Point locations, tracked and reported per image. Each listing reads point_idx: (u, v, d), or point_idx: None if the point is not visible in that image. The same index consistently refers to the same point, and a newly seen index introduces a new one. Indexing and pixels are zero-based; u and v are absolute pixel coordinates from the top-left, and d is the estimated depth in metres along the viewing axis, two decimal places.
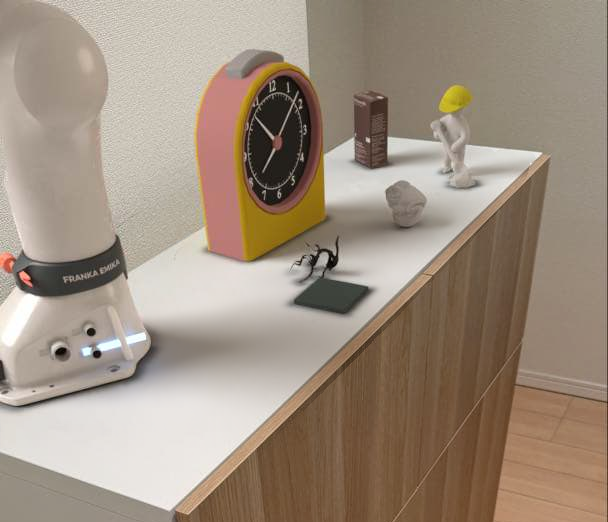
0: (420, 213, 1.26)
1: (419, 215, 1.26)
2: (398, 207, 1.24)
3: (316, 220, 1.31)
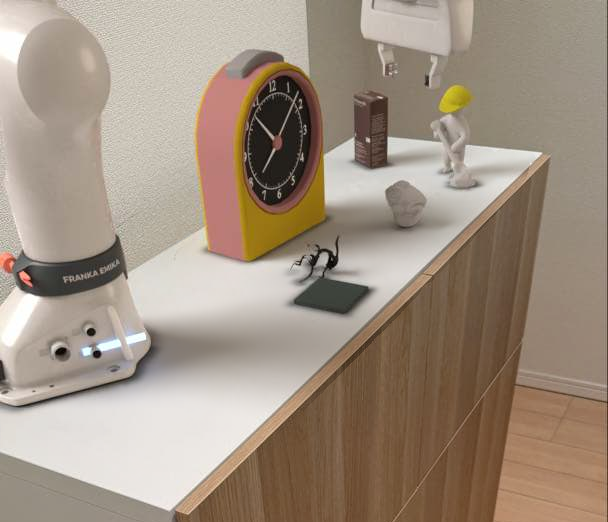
0: (420, 213, 1.26)
1: (419, 215, 1.26)
2: (398, 207, 1.24)
3: (316, 220, 1.31)
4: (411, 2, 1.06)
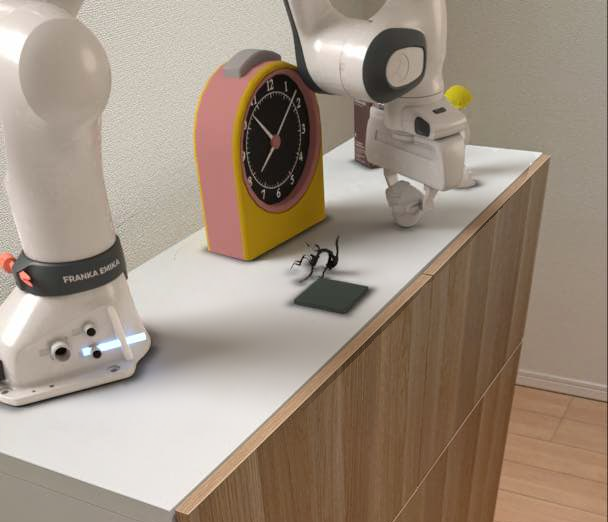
0: (420, 213, 1.26)
1: (419, 215, 1.26)
2: (398, 207, 1.24)
3: (316, 219, 1.31)
4: (409, 141, 1.18)
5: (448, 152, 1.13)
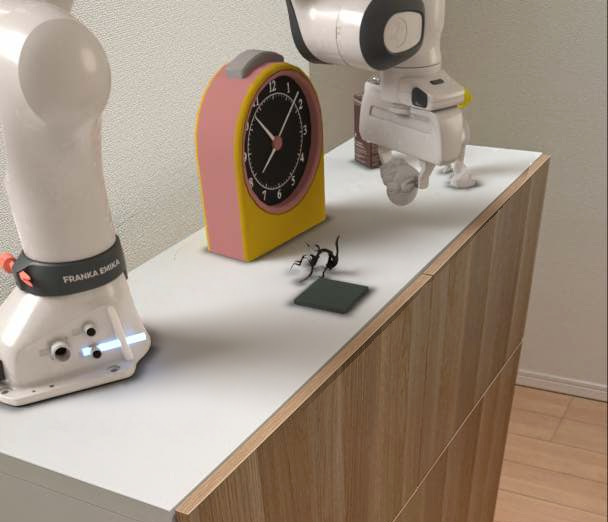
0: (415, 191, 1.23)
1: (414, 193, 1.23)
2: (393, 184, 1.21)
3: (316, 220, 1.31)
4: (405, 115, 1.15)
5: (446, 124, 1.10)
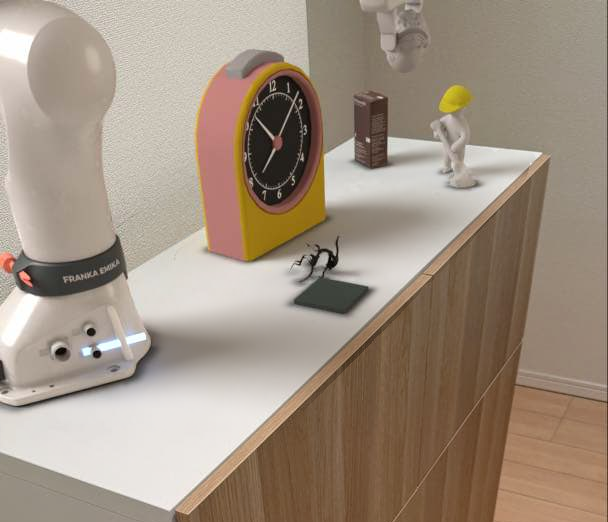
0: None
1: None
2: (429, 35, 0.98)
3: (316, 220, 1.31)
4: None
5: None
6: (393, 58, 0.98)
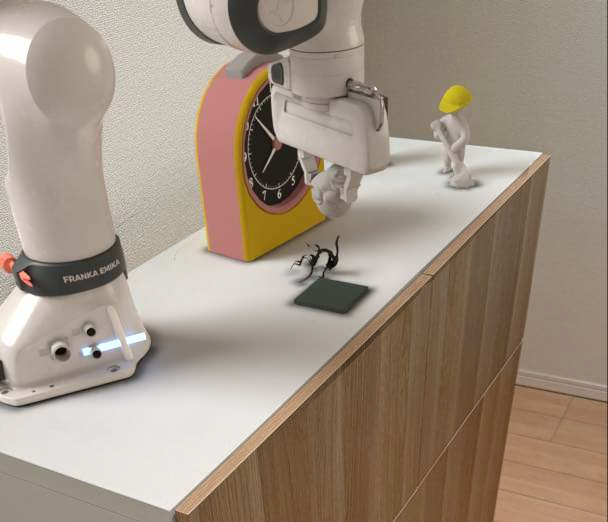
0: None
1: None
2: None
3: (316, 220, 1.31)
4: None
5: None
6: (340, 207, 1.01)
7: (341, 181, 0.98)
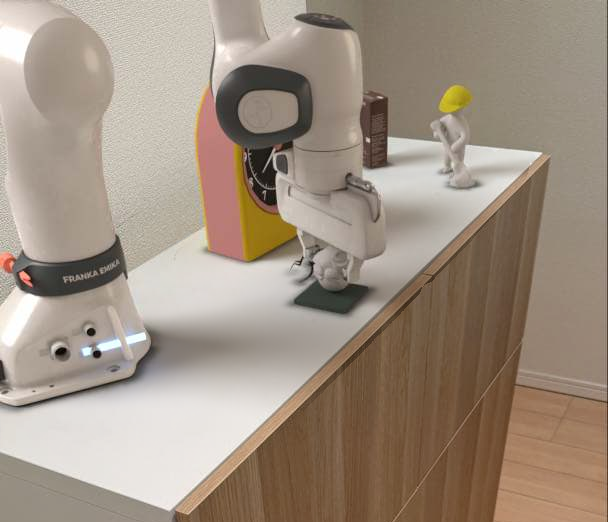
0: None
1: None
2: None
3: None
4: None
5: None
6: (339, 283, 1.08)
7: (341, 259, 1.06)
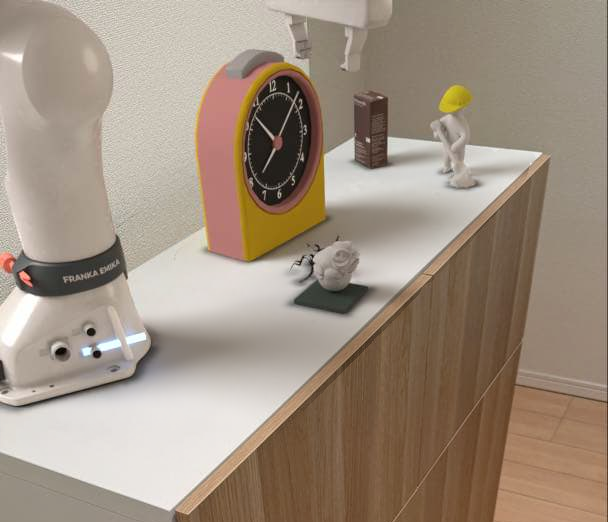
0: None
1: None
2: None
3: (316, 220, 1.31)
4: None
5: None
6: (339, 283, 1.08)
7: (341, 259, 1.06)
